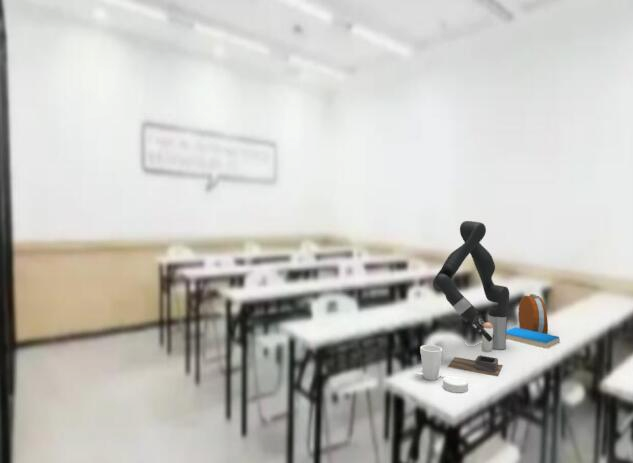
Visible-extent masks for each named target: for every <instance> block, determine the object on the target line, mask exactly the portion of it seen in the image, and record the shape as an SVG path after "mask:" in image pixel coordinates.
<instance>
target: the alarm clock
mask: <svg viewBox="0 0 633 463" xmlns="http://www.w3.org/2000/svg"><path fill="white" fill-rule="evenodd" d="M517 315H518V323H519V328H521V329H526V330H531V331H535V332H540V333H544V334H549V333H548V331H549V326H548V324H549V323H548V322H549V321H548V314H547V309H546V305H545V303H544V300H543V299H542V298H541V296H538V295H537V294H534V293H533V294H531V293H530V294H529V295H523V296H522V297H521V299H520V301H519V305H518V314H517Z"/></svg>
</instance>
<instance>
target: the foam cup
mask: <svg viewBox="0 0 633 463" xmlns="http://www.w3.org/2000/svg"><path fill="white" fill-rule="evenodd" d="M419 348H420V349H419V350H420V351H419V352H420V355H421V357H420V358H421V365H422V366H421V367H422V375H423V379H426V380H429V381H435V380H439V374H440V370H441V364H442V363H441V361H442V357H443V348H442V347H441V346H439V345H434V344H425V345H424V344H423V345H421V346H420V347H419Z"/></svg>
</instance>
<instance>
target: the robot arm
mask: <svg viewBox="0 0 633 463" xmlns="http://www.w3.org/2000/svg"><path fill="white" fill-rule="evenodd" d="M486 232H487V229H486V225H485V224H484V223H483V222H480V221H475V220H474V221H472V220H464V221H462V222H461V224H460V225H459V233H460V236H461V238H462V240H463V242H464V243H463V244H462V245H460V246H458V248H456V249H454V250H453V251H452V252H451V253H450V254H449V255H448V256H447V258H446V259H445V261H444V263H443V264H442V267H441V268H440V270H439V271H438V272H437V274H436V276H435V277H434V279H433V280H432V287H433V288H434V290H436V291H438V292H440V291H441V292H442V293H443V294H444V297H445V299H446V301H447V302H448V303H449V304H450V306H452V307H453V310H455V312H456V313H457V314H458V315H459V316H460V317H461V318H462V319H463V321H464V322H465V323H468V322H470V323H471V328H472V329H474V330H475V332H477V333H478V334H479V335H480V336H482V335H483V336H484V337H485V338H486V339H487V340H488V341H489V342H490V341H491V340H492V339H493V341H492V350H499V351H502V350H506V348H507V339H506V330H508V328H507V320H508V313H509V312H508V311H509V303H510V290H509V288H508V287H507V286H503V285H498V284H495V283H494V282H493V279H492V278H493V275H494V273H495V270H496V264H495V262H494V259H493V256H492V254H491V253H490V251H488V250H487V249H486V248H485V246H483V245H482V243H481V241H482V240H483V239H484V237H485V236H486ZM469 255H470V256H471V258H472V261H473V264H474V266H475V268H476V271H477V273H478V275H479V278H480V281H481V284H482V287H483V291H484V292H483V293H484V295H485V297H486V299H487V301H488V302H491V303H497V306H496V307H492V308H489V309H488V311H487V312H488V314H487V316H488V317H487V318H488V319H487V320H488V321H487V322H489V323H491V324H492V325H493V338H492V337H491V336H490V335H489V334H488V333H487V331H486V330H485V329H484V326H483V324H484V323H486V321H484V319H483V317H481V316H478V314H479V311H478V309H476V307H475V306H474V305H473V304H472V303H471V302H470V300H469V299H467V298H466V297H465V296H464V295H463V294H462V292H460V290H459V289H458V288H457V287H456V284H455V283H454V282H453V280H452V278H453V277H454V275H456V273H457V272H458V270H460V268H461V266H462V264H463V263H464V261H465V260H466V258H467V257H468V256H469Z"/></svg>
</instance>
